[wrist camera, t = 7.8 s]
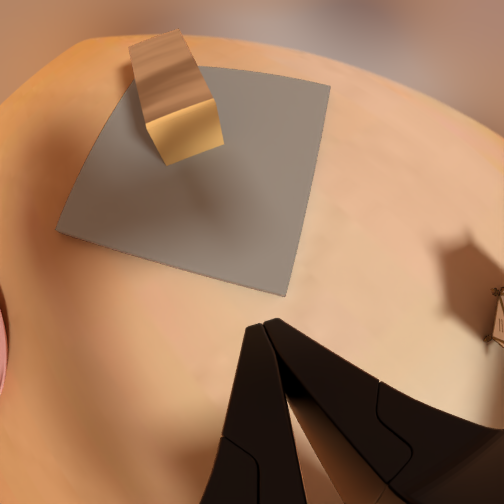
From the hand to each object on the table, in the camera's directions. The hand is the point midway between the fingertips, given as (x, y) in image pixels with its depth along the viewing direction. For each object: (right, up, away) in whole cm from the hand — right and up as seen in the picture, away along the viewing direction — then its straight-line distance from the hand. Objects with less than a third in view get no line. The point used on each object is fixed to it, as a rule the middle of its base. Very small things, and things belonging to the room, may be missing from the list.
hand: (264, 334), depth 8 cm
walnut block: (-5, +11, +14) cm, 18 cm away
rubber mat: (-5, +11, +17) cm, 21 cm away
